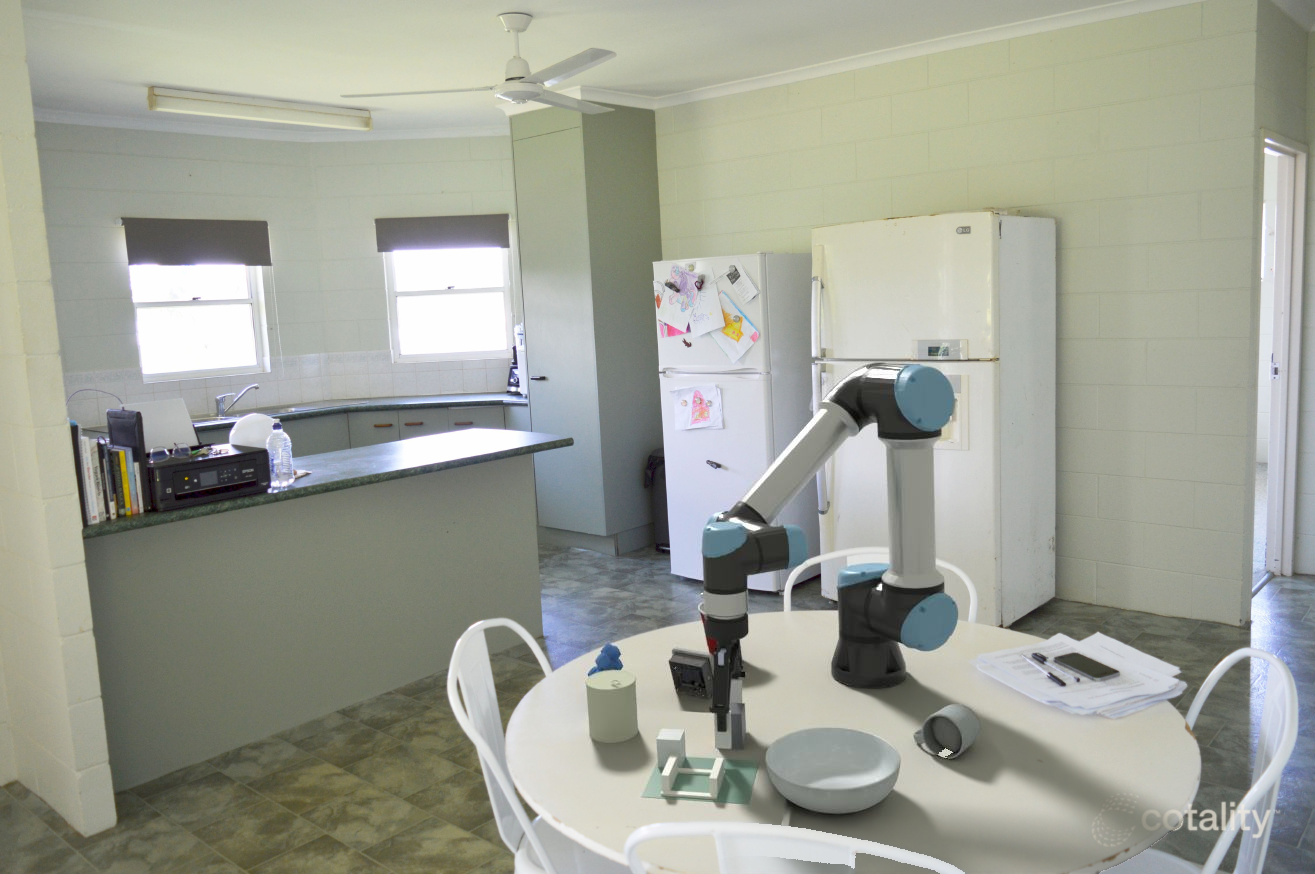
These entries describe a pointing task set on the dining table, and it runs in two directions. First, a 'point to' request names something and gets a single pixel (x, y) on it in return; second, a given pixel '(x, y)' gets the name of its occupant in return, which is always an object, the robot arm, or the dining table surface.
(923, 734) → the ceramic mug
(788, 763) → the serving bowl
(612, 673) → the can
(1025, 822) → the dining table surface
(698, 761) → the board
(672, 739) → the plug
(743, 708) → the plug
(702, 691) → the electrical switch
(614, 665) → the grapes
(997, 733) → the dining table surface
